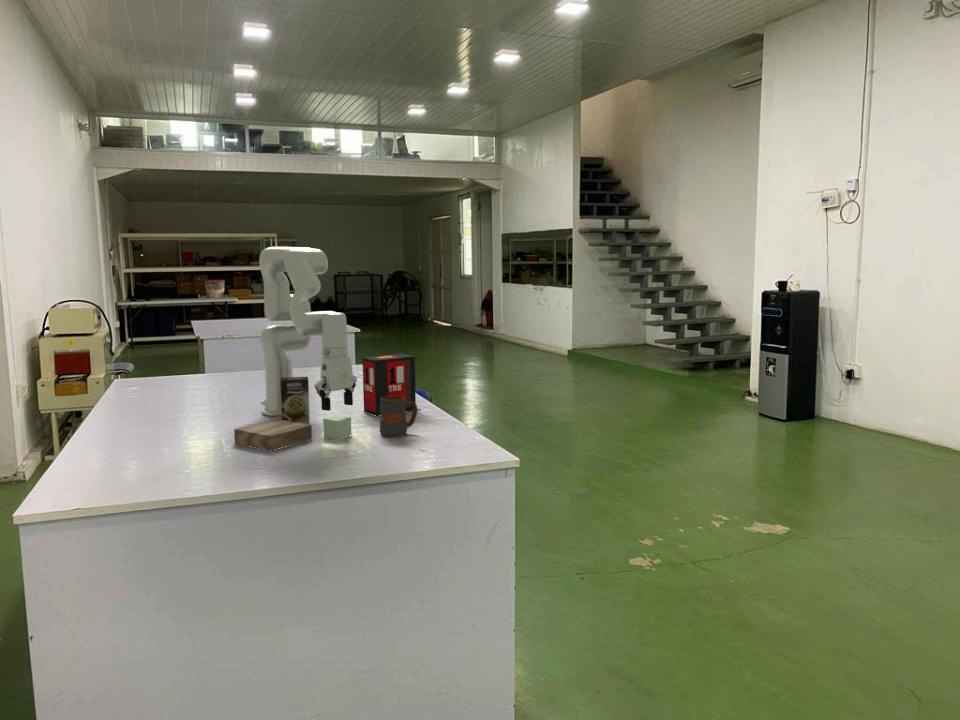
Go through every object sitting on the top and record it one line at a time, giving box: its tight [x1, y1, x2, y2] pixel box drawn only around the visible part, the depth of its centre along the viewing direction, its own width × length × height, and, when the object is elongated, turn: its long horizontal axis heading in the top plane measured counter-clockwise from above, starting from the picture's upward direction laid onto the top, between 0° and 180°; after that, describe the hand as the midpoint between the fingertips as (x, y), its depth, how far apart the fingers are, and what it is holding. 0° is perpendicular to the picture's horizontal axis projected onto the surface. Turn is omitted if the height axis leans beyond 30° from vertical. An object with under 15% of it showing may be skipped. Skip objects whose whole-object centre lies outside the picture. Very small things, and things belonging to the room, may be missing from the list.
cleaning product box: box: [362, 353, 417, 417], centre depth 255 cm, size 16×9×20 cm, turn 129°
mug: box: [379, 396, 418, 437], centre depth 222 cm, size 9×12×12 cm
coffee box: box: [280, 376, 311, 425], centre depth 233 cm, size 9×6×16 cm
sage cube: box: [322, 414, 352, 440], centre depth 220 cm, size 6×6×6 cm
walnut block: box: [233, 418, 313, 452], centre depth 214 cm, size 16×16×5 cm
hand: (337, 407), depth 218 cm, fingers open, 9 cm apart
